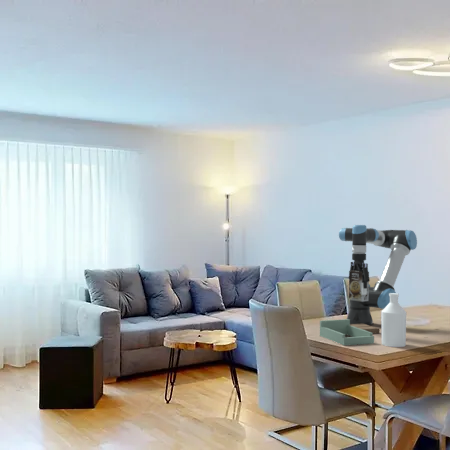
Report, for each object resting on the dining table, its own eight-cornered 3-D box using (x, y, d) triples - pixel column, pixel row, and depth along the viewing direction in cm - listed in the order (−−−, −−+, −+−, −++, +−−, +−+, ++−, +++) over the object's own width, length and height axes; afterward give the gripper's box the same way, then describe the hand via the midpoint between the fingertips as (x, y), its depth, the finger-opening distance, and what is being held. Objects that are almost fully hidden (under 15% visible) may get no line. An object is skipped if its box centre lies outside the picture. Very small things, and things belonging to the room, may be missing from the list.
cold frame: (319, 335, 312) (319, 320, 312) (348, 334, 317) (348, 319, 317) (343, 345, 288) (343, 328, 288) (374, 343, 293) (374, 327, 293)
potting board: (338, 329, 330) (338, 325, 330) (363, 328, 335) (363, 323, 335) (353, 334, 315) (353, 330, 315) (379, 333, 320) (379, 328, 320)
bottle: (395, 348, 283) (396, 295, 283) (375, 343, 293) (376, 293, 292) (411, 345, 290) (411, 294, 290) (391, 341, 299) (391, 291, 299)
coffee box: (348, 299, 326) (348, 270, 326) (355, 298, 331) (355, 270, 330) (361, 301, 319) (362, 271, 319) (369, 300, 324) (369, 271, 324)
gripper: (342, 251, 335) (342, 291, 335) (364, 254, 313) (363, 296, 313) (354, 251, 337) (353, 290, 337) (376, 254, 315) (376, 295, 315)
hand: (358, 293), depth 325 cm, fingers closed on coffee box, 10 cm apart
